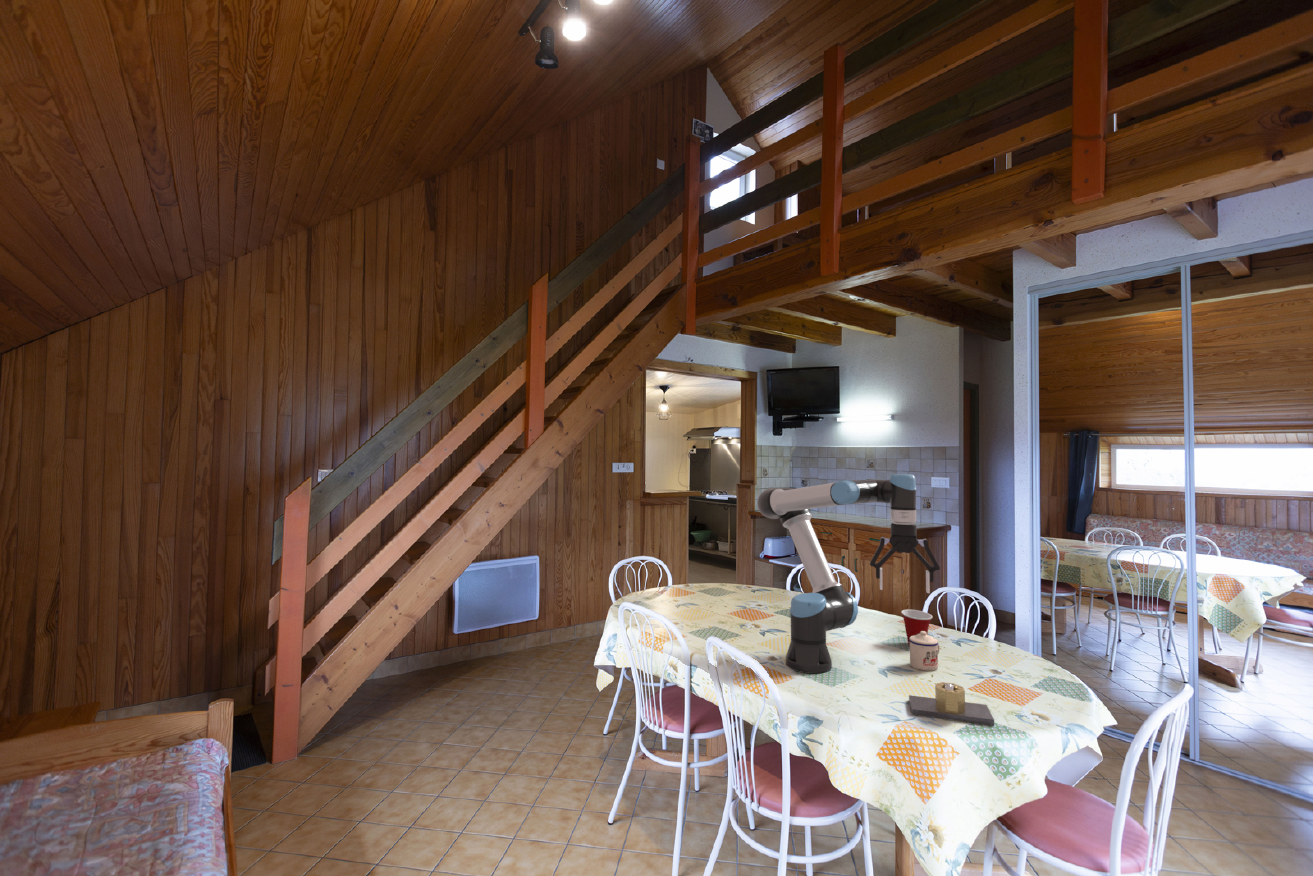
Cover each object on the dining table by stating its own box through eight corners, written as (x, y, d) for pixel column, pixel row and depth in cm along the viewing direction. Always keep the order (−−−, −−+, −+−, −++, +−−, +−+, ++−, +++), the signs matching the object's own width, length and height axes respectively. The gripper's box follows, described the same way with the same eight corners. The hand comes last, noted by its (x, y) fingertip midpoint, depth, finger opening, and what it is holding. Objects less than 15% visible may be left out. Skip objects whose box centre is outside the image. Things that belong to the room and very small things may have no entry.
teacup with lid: (926, 673, 193) (925, 637, 194) (903, 664, 201) (902, 630, 202) (950, 667, 199) (950, 632, 199) (927, 659, 207) (926, 625, 207)
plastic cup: (924, 651, 214) (924, 618, 215) (896, 644, 223) (895, 612, 223) (938, 645, 221) (937, 613, 222) (910, 638, 230) (910, 607, 230)
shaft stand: (911, 714, 162) (911, 687, 162) (909, 700, 171) (908, 674, 172) (994, 725, 155) (993, 696, 156) (986, 710, 165) (986, 683, 165)
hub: (937, 710, 161) (937, 690, 161) (934, 700, 167) (934, 681, 168) (966, 714, 159) (966, 693, 159) (962, 704, 165) (961, 684, 165)
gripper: (861, 522, 187) (862, 590, 186) (948, 525, 179) (949, 596, 178) (861, 520, 194) (862, 585, 193) (945, 523, 186) (946, 591, 185)
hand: (904, 590), depth 186 cm, fingers open, 13 cm apart
